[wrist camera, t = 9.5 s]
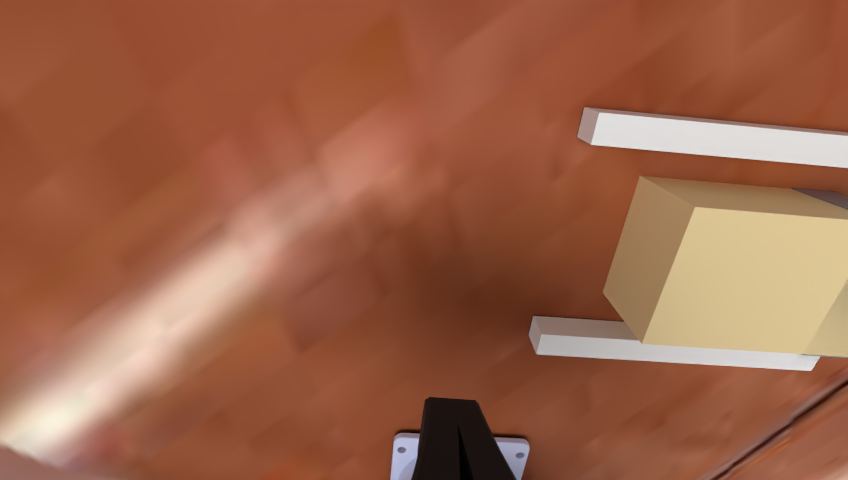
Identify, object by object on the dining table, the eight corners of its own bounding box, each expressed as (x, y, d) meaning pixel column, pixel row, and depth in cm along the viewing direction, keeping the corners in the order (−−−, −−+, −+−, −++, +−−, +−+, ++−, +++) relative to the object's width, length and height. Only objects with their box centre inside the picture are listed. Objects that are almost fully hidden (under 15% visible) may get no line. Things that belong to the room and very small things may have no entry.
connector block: (772, 304, 21) (846, 357, 18) (601, 292, 21) (641, 345, 17) (832, 190, 19) (934, 225, 15) (639, 174, 18) (695, 205, 14)
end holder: (787, 351, 22) (811, 370, 21) (528, 334, 21) (536, 354, 20) (910, 138, 18) (952, 145, 16) (584, 107, 17) (599, 112, 15)
